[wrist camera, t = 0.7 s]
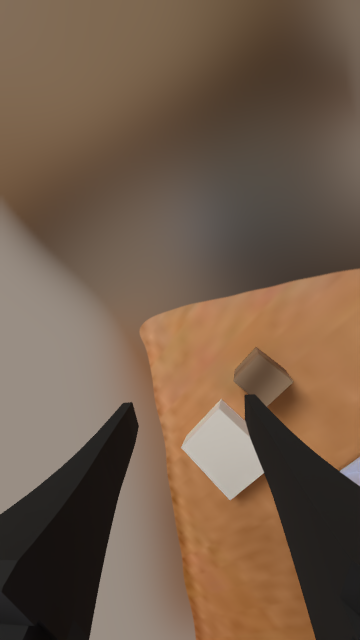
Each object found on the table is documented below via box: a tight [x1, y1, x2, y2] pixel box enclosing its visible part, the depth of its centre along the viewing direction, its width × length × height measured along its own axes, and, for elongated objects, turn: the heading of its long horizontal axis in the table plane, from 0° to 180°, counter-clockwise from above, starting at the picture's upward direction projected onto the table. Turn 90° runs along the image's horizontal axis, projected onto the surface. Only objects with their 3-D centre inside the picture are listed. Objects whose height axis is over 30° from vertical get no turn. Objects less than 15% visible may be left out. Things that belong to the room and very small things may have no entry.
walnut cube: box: [234, 347, 294, 407], centre depth 24 cm, size 5×5×5 cm
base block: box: [181, 399, 264, 500], centre depth 28 cm, size 10×10×3 cm
